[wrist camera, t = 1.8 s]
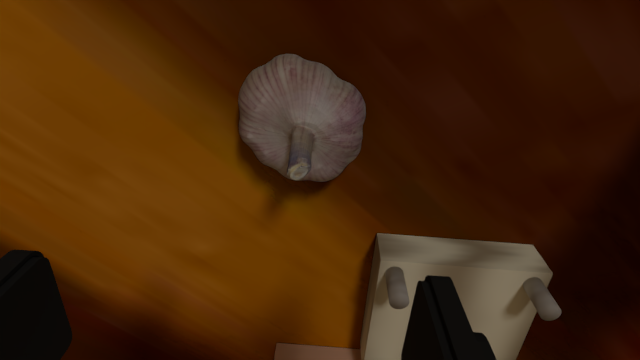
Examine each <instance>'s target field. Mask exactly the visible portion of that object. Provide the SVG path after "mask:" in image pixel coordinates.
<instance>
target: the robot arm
mask: <svg viewBox="0 0 640 360" xmlns="http://www.w3.org/2000/svg"><path fill="white" fill-rule="evenodd" d="M71 340H72V331H71V328H70V325H69V321H68V318H67V315H66V312H65V309H64V306H63V303H62V300H61V296H60V293H59V290H58V287H57V284H56V281H55V278H54V274H53V271H52V268H51V265H50V262H49V260H48V259H47V258H44V256H43V254H42V253H41V252H38V251H27V250H12V251H10V252H8V253H7V254H5V255H4V256H3V257H2V258H1V259H0V360H60V359H61V357H62V356H63V355H64V353H65V352H66V350H67V349H68V347H69V346H70V343H71ZM401 360H497V359H496V357H495V355H494V353H493V350H492V348H491V346H490V343H489V341H488V340H487V338H486V336H485V335H484V334H483V333H479V332H473V331H472V328H471V326H470V323H469V321H468V318H467V316H466V313H465V311H464V308H463V306H462V303H461V301H460V298H459V296H458V293H457V291H456V288H455V286H454V283H453V281H452V279H451V278H450V277H448V276H432V275H427V276H426V277H425V280H424V281H418V283H417V287H416V291H415V296H414V300H413V304H412V309H411V313H410V318H409V322H408V326H407V331H406V335H405V340H404V344H403V348H402V353H401Z"/></svg>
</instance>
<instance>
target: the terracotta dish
mask: <svg viewBox="0 0 640 360" xmlns="http://www.w3.org/2000/svg"><path fill="white" fill-rule="evenodd" d="M274 360H361V349H350V348H337V347H324V346H311V345H299V344H286V343H277V344H276V350H275V356H274Z"/></svg>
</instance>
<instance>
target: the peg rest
mask: <svg viewBox="0 0 640 360" xmlns="http://www.w3.org/2000/svg"><path fill="white" fill-rule="evenodd" d="M427 275H432V276H448V277H450V278H451V279H452V281H453V283H454V286H455V288H456V291H457V293H458V296H459V298H460V301H461V303H462V306H463V308H464V311H465V313H466V316H467V318H468V321H469V323H470V326H471V328H472V331H473V332H479V333H483V334H484V335H485V336H486V338H487V340H488V341H489V343H490V346H491V348H492V350H493V353H494V355H495V357H496V359H497V360H516V358H517V356H518V353H519V351H520V349H521V347H522V344H523V342H524V340H525V337H526V335H527V333H528V330H529V328H530V326H531V323H532V321H533V319H534V316H535V314H536V312H538V314H539V315H540V317H541V318H542V319H543V320H546V321H552V320H555V319H557V318H558V317H559V316H560V315H561V309H560V308H559V306H558V305H557V303H556V301H555V300H554V298H553V297H552V295H551V294H550V292H549V291H548V289H547V286H548V284H549V282H550V280H551V277H552V275H553V273H552V271H551V270H550V268H549V267H548V266H547V264H546V263H545V261H544V260H543V259H542V257H541V256H540V254H539V253H538V252H537V250H536V249H535V247H534V246H533V245H528V244H515V243H501V242H488V241H475V240H461V239H448V238H435V237H422V236H408V235H395V234H382V233H377V236H376V242H375V249H374V255H373V262H372V268H371V274H370V281H369V287H368V294H367V300H366V307H365V313H364V319H363V326H362V332H361V339H360V347H361V360H401V353H402V348H403V344H404V340H405V335H406V331H407V326H408V322H409V318H410V313H411V309H412V304H413V300H414V296H415V291H416V287H417V283H418V281H424V280H425V277H426V276H427Z"/></svg>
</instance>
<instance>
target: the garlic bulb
mask: <svg viewBox="0 0 640 360" xmlns="http://www.w3.org/2000/svg"><path fill="white" fill-rule="evenodd" d="M238 105H239V110H240V120H239V134H240V136H241V138H242V140H243V141H244V143H246V144H247V145H248V146H249V147H250V148H251V149H252V151H253V152H254V154H255V156H256V157H257V159H258V160H259V161H260V162H261V163H263V164H264V165H266V166H269V167H272V168H273V169H275V170H277V171H278V172H279V173H280V174H282V175H283V176H284V177H286V178H288V179H291V180H296V181H300V180H312V181H317V182H325V181H329V180H332V179H334V178H335V177H337V176H338V175H339V174H340V173H341V172H342V171H343V170H344V168H345V167H346V166H347V165H348V164H349V163H350V162H351V161H353V160H354V159H355V158H356V157H357V155H358V154H359V152H360V149H361V142H362V138H363V133H362V128H363V124H364V120H365V117H366V108H365V102H364V100H363V97H362V95H361V94H360V92H359V91H358V90H357V88H355V87H354V86H353V85H352V84H350V83H348V82H346V81H343V80H341V79H339V78H338V77H337V76H336V75H335V74H334V73H333V72H332V70H331V69H329V68H328V67H326V66H325V65H323V64H321V63H318V62H312V61H308V60H305V59H303V58H301V57H300V56H298V55H295V54H283V55H279V56H277V57H275V58H274V59H272V60H271V61H270V62H268V63H267V64H265V65H263V66H260V67H258V68H256V69H254V70H253V71H252V72H251V73H250V74H249V75H248V76H247V78H246V79H245V81H244V83H243V85H242V87H241V89H240V92H239V98H238Z"/></svg>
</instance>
